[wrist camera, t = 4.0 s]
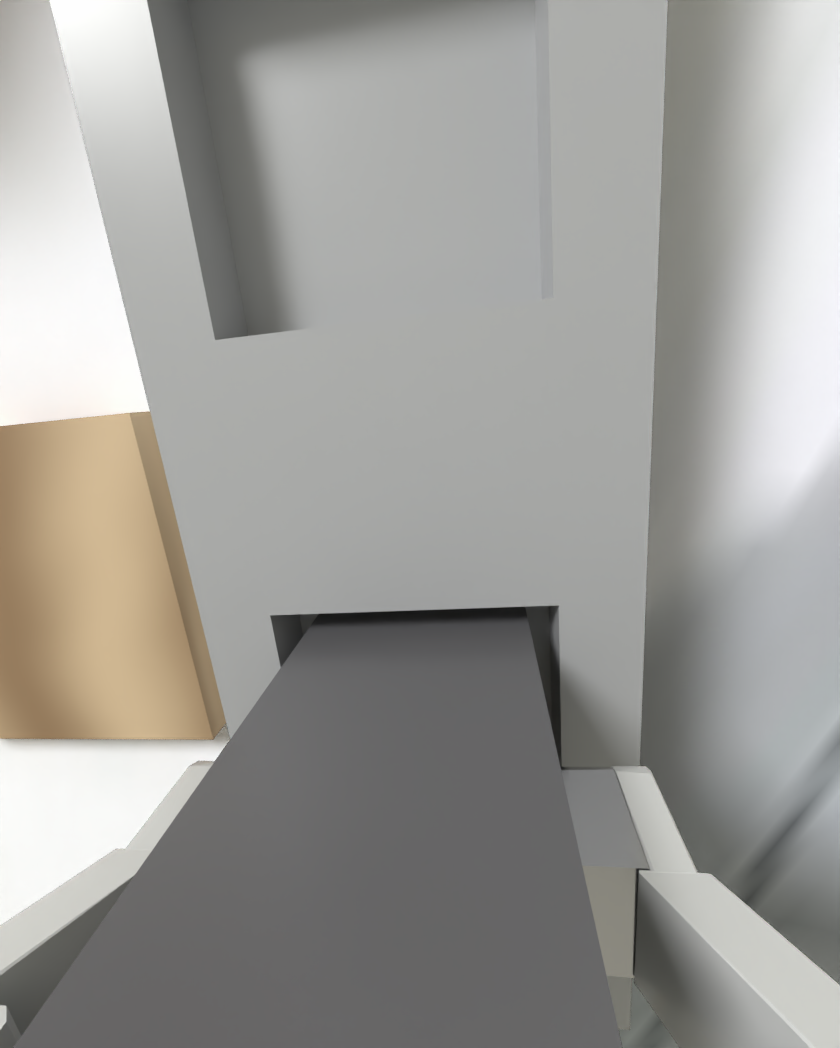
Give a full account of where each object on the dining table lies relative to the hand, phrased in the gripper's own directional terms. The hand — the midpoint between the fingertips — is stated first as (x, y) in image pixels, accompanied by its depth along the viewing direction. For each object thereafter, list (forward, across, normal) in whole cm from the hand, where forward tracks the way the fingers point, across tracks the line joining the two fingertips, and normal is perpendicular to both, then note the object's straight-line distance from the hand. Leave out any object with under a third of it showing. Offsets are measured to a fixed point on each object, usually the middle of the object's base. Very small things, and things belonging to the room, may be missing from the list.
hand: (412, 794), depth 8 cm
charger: (+3, 0, 0) cm, 3 cm away
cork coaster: (+5, +11, -2) cm, 12 cm away
